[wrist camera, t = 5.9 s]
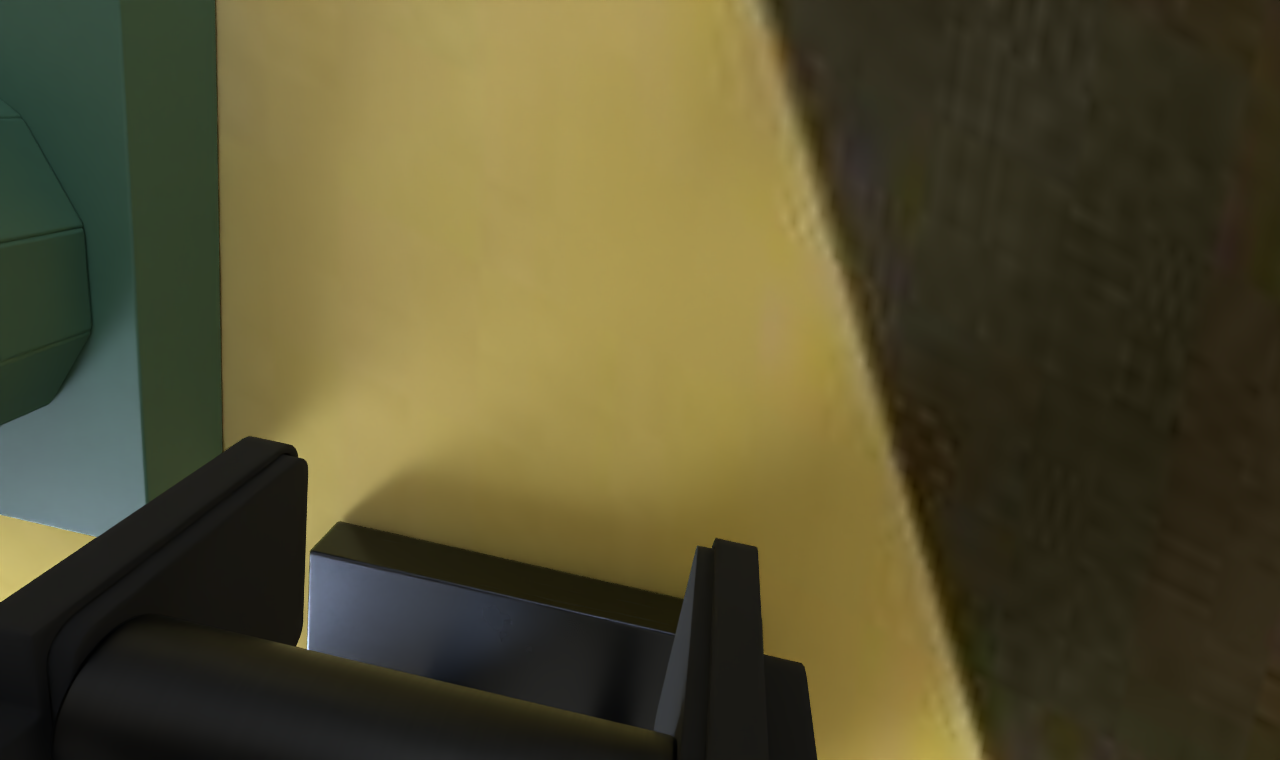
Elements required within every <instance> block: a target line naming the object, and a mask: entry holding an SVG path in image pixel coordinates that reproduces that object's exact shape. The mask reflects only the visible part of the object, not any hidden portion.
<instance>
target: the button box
mask: <svg viewBox="0 0 1280 760" xmlns="http://www.w3.org/2000/svg"><path fill="white" fill-rule="evenodd" d="M221 453H222V394H221V333H220V272H219V212H218V151H217V90H216V29H215V0H0V515H4V516H8V517H13V518H17V519H21V520H26V521H30V522H34V523H39V524H43V525H47V526H51V527H56V528H60V529H64V530H69V531H73V532H77V533H82V534H86V535H90V536H95V537H98V536H100V535H101V534H103V533H104V532H106V531H107V530H109V529H110V528H111V527H113V526H114V525H116V524H117V523H119V522H120V521H122V520H123V519H125V518H126V517H128V516H129V515H131V514H132V513H134V512H135V511H137V510H138V509H140V508H141V507H143V506H144V505H146V504H147V503H149V502H150V501H151V500H153V499H154V498H156V497H157V496H159V495H160V494H162V493H163V492H165V491H166V490H168V489H169V488H171V487H172V486H174V485H175V484H177V483H178V482H180V481H181V480H183V479H184V478H186V477H187V476H189V475H190V474H191V473H193V472H194V471H196V470H197V469H199V468H200V467H202V466H203V465H205V464H206V463H208V462H209V461H211V460H212V459H214V458H215V457H217V456H218V455H220V454H221Z"/></svg>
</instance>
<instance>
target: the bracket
mask: <svg viewBox="0 0 1280 760" xmlns="http://www.w3.org/2000/svg"><path fill="white" fill-rule="evenodd" d="M683 600H684V599H681V598H677V597H672V596H668V595H663V594H659V593H654V592H650V591H646V590H641V589H637V588H632V587H628V586H624V585H619V584H615V583H610V582H606V581H601V580H597V579H593V578H588V577H584V576H579V575H575V574H571V573H566V572H562V571H557V570H553V569H548V568H544V567H540V566H535V565H531V564H526V563H522V562H518V561H513V560H509V559H504V558H500V557H495V556H491V555H487V554H482V553H478V552H473V551H469V550H465V549H460V548H456V547H451V546H447V545H442V544H438V543H434V542H429V541H425V540H420V539H416V538H412V537H407V536H403V535H398V534H394V533H389V532H385V531H381V530H376V529H372V528H367V527H363V526H359V525H354V524H350V523H345V522H337V523H336V524H335V525H334V526H333V527H332V528H331V529H330V531H329V532H328V533H327V534H326V535H325V536H324V537H323V538H322V539H321V540H320V541H319V542H318V543H317V544H316V545H315V546H314V547H313V548H312V549H311V551H310V563H309V596H308V628H307V649H308V650H312V651H316V652H320V653H325V654H329V655H333V656H337V657H342V658H346V659H350V660H354V661H359V662H363V663H367V664H371V665H375V666H380V667H384V668H388V669H392V670H397V671H401V672H405V673H409V674H414V675H418V676H422V677H426V678H431V679H435V680H439V681H443V682H448V683H452V684H456V685H460V686H465V687H469V688H473V689H477V690H482V691H486V692H490V693H494V694H499V695H503V696H507V697H511V698H516V699H520V700H524V701H528V702H533V703H537V704H541V705H545V706H550V707H554V708H558V709H562V710H567V711H571V712H575V713H579V714H584V715H588V716H592V717H596V718H600V719H605V720H609V721H613V722H617V723H622V724H626V725H630V726H634V727H639V728H643V729H647V730H651V731H654V725H655V719H656V714H657V709H658V705H659V701H660V696H661V692H662V688H663V684H664V680H665V676H666V671H667V667H668V663H669V659H670V655H671V651H672V646H673V642H674V638H675V634H676V630H677V626H678V621H679V617H680V613H681V609H682V605H683ZM762 637H763V626H762ZM763 655H764V649H763Z"/></svg>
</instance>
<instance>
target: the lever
mask: <svg viewBox="0 0 1280 760" xmlns="http://www.w3.org/2000/svg"><path fill="white" fill-rule="evenodd" d="M50 751H51V760H677V742H676V739H675V738H674V737H673V736H672V735H668V734H664V733H660V732H656V731H651V730H647V729H643V728H639V727H634V726H630V725H626V724H622V723H617V722H613V721H609V720H605V719H600V718H596V717H592V716H588V715H584V714H579V713H575V712H571V711H567V710H562V709H558V708H554V707H550V706H545V705H541V704H537V703H533V702H528V701H524V700H520V699H516V698H511V697H507V696H503V695H499V694H494V693H490V692H486V691H482V690H477V689H473V688H469V687H465V686H460V685H456V684H452V683H448V682H443V681H439V680H435V679H431V678H426V677H422V676H418V675H414V674H409V673H405V672H401V671H397V670H392V669H388V668H384V667H380V666H375V665H371V664H367V663H363V662H359V661H354V660H350V659H346V658H342V657H337V656H333V655H329V654H325V653H320V652H316V651H312V650H308V649H303V648H299V647H295V646H291V645H286V644H282V643H278V642H274V641H269V640H265V639H261V638H257V637H252V636H248V635H244V634H240V633H235V632H231V631H227V630H223V629H218V628H214V627H210V626H206V625H201V624H197V623H193V622H189V621H184V620H180V619H176V618H172V617H167V616H163V615H159V614H144V615H139V616H136V617H133V618H131V619H129V620H127V621H125V622H123V623H122V624H120V625H119V626H117V627H116V628H115V629H114V630H112V631H111V632H110V633H109V634H108V635H107V636H106V637H104V638H103V639H102V640H101V641H100V643H99V644H98V645H97V646H96V647H95V648H94V649H93V650H92V652H91V653H90V654H89V655H88V657H87V658H86V659H85V661H84V662H83V664H82V665H81V666H80V668H79V669H78V671H77V673H76V674H75V676H74V678H73V679H72V681H71V683H70V685H69V687H68V689H67V691H66V693H65V695H64V697H63V699H62V702H61V704H60V707H59V710H58V712H57V715H56V719H55V722H54V726H53V731H52V736H51V746H50Z"/></svg>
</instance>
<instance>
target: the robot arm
mask: <svg viewBox="0 0 1280 760" xmlns="http://www.w3.org/2000/svg"><path fill="white" fill-rule="evenodd" d="M307 490H308V465H307V462H306V461H305V460H304V459H302V458H298V454H297V451H296V448H294V447H293V446H292V445H289V444H284V443H280V442H275V441H271V440H266V439H262V438H257V437H251V436H248V437H246V438H244V439H242V440H240V441H239V442H237V443H236V444H234V445H233V446H231V447H230V448H229V449H227V450H226V451H224V452H223V453H221V454H220V455H218V456H217V457H215V458H214V459H212V460H211V461H209V462H208V463H206V464H205V465H203V466H202V467H200V468H199V469H197V470H196V471H194V472H193V473H191V474H190V475H189V476H187V477H186V478H184V479H183V480H181V481H180V482H178V483H177V484H175V485H174V486H172V487H171V488H169V489H168V490H166V491H165V492H163V493H162V494H160V495H159V496H157V497H156V498H154V499H153V500H151V501H150V502H149V503H147V504H146V505H144V506H143V507H141V508H140V509H138V510H137V511H135V512H134V513H132V514H131V515H129V516H128V517H126V518H125V519H123V520H122V521H120V522H119V523H117V524H116V525H114V526H113V527H111V528H110V529H109V530H107V531H106V532H104V533H103V534H101V535H100V536H98V537H97V538H95V539H94V540H92V541H91V542H89V543H88V544H86V545H85V546H83V547H82V548H80V549H79V550H77V551H76V552H74V553H73V554H71V555H70V556H68V557H67V558H66V559H64V560H63V561H61V562H60V563H58V564H57V565H55V566H54V567H52V568H51V569H49V570H48V571H46V572H45V573H43V574H42V575H40V576H39V577H37V578H36V579H34V580H33V581H31V582H30V583H28V584H27V585H26V586H24V587H23V588H21V589H20V590H18V591H17V592H15V593H14V594H12V595H11V596H9V597H8V598H6V599H5V600H3V601H2V602H0V760H51V751H50V746H51V736H52V731H53V726H54V722H55V719H56V715H57V712H58V710H59V707H60V704H61V702H62V699H63V697H64V695H65V693H66V691H67V689H68V687H69V685H70V683H71V681H72V679H73V678H74V676H75V674H76V673H77V671H78V669H79V668H80V666H81V665H82V664H83V662H84V661H85V659H86V658H87V657H88V655H89V654H90V653H91V652H92V650H93V649H94V648H95V647H96V646H97V645H98V644H99V643H100V641H101V640H102V639H103V638H104V637H106V636H107V635H108V634H109V633H110V632H111V631H112V630H114V629H115V628H116V627H117V626H119V625H120V624H122V623H123V622H125V621H127V620H129V619H131V618H133V617H136V616H139V615H144V614H159V615H163V616H167V617H172V618H176V619H180V620H184V621H189V622H193V623H197V624H201V625H206V626H210V627H214V628H218V629H223V630H227V631H231V632H235V633H240V634H244V635H248V636H252V637H257V638H261V639H265V640H269V641H274V642H278V643H282V644H286V645H291V646H295V647H296V645H297V643H298V640H299V638H300V635H301V631H302V627H303V608H304V579H305V549H306V520H307ZM654 731H656V732H660V733H664V734H668V735H672V736H673V737H674V738H675V739H676V742H677V760H817V754H816V746H815V738H814V730H813V722H812V715H811V707H810V699H809V691H808V683H807V676H806V671H805V667H804V666H803V664H802V663H799V662H794V661H790V660H785V659H781V658H777V657H772V656H768V655H763V637H762V618H761V599H760V580H759V561H758V549H757V547H755V546H750V545H746V544H741V543H736V542H732V541H727V540H723V539H718V538H715V540H714V543H713V546H712V548H707V547H703V546H698V545H697V548H696V551H695V555H694V559H693V563H692V567H691V571H690V575H689V580H688V584H687V588H686V592H685V596H684V600H683V605H682V609H681V613H680V617H679V621H678V626H677V630H676V634H675V638H674V642H673V646H672V651H671V655H670V659H669V663H668V667H667V671H666V676H665V680H664V684H663V688H662V692H661V696H660V701H659V705H658V709H657V714H656V719H655V725H654Z"/></svg>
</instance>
